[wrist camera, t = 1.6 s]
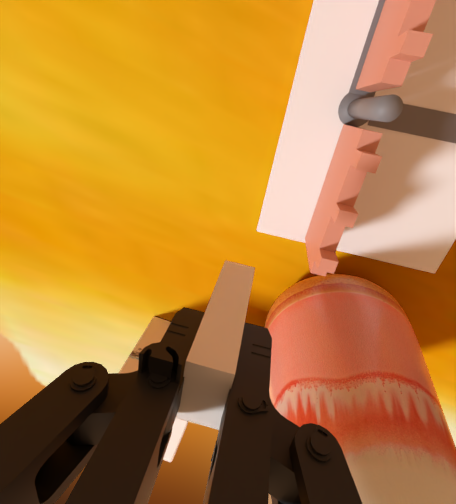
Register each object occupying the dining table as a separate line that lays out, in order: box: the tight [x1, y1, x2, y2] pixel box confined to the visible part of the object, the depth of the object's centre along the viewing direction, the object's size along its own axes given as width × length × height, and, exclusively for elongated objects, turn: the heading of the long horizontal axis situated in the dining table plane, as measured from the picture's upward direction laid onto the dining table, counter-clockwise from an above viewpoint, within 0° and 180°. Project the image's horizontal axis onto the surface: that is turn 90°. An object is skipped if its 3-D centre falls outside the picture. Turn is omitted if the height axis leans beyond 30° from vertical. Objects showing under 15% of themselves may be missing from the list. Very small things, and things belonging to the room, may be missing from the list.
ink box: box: [119, 317, 188, 462], centre depth 35 cm, size 9×8×12 cm
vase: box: [265, 274, 456, 504], centre depth 20 cm, size 14×14×30 cm
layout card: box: [256, 0, 456, 274], centre depth 24 cm, size 23×18×1 cm
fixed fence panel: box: [347, 0, 436, 122], centre depth 17 cm, size 13×1×9 cm, turn 170°
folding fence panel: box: [305, 124, 383, 276], centre depth 23 cm, size 11×1×9 cm, turn 170°
